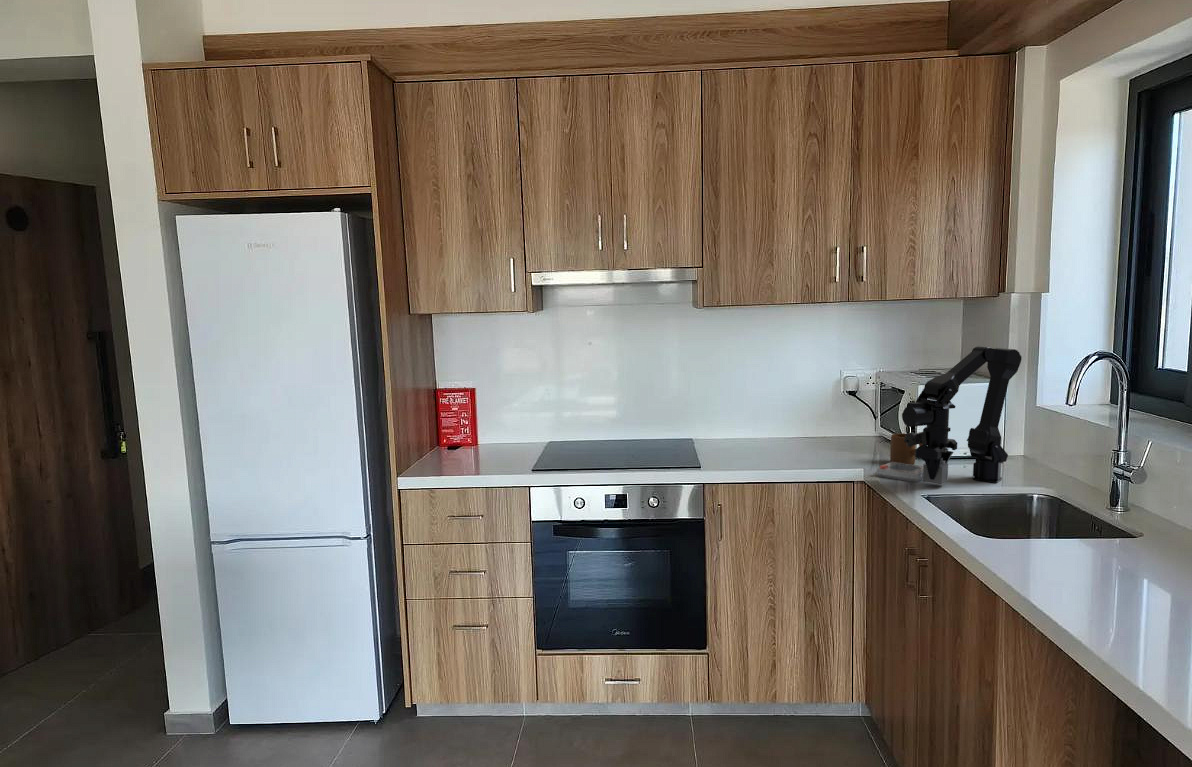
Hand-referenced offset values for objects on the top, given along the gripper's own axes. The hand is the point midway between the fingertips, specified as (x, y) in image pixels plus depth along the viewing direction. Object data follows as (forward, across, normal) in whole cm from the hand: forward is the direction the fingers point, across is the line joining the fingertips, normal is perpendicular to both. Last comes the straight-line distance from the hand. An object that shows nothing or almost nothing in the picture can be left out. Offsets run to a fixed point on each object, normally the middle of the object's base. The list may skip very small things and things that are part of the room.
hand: (935, 477), depth 215 cm
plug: (+1, 0, 0) cm, 1 cm away
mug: (+3, -22, -15) cm, 27 cm away
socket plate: (+2, -7, -12) cm, 14 cm away
